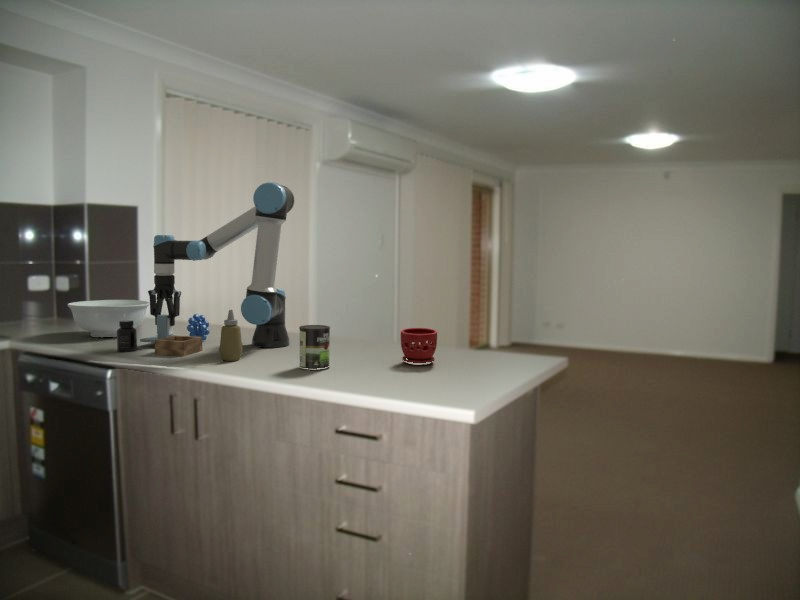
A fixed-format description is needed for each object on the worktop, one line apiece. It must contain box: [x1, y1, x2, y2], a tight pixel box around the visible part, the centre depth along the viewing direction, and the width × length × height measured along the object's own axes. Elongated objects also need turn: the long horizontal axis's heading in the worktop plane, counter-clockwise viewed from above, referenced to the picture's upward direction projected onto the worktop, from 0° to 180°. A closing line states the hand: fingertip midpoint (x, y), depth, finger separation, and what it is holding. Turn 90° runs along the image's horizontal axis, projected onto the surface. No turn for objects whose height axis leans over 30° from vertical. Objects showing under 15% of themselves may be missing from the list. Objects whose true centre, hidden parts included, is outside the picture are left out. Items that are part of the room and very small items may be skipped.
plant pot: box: [400, 327, 438, 363], centre depth 220 cm, size 13×13×12 cm
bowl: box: [67, 299, 150, 339], centre depth 270 cm, size 32×32×15 cm
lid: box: [139, 313, 174, 344], centre depth 243 cm, size 13×13×10 cm
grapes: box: [186, 313, 211, 342], centre depth 256 cm, size 12×7×12 cm, turn 151°
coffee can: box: [298, 324, 331, 369], centre depth 209 cm, size 10×10×14 cm
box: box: [154, 335, 203, 357], centre depth 229 cm, size 12×12×6 cm
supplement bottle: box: [116, 320, 138, 353], centre depth 230 cm, size 7×7×12 cm
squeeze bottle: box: [219, 309, 243, 362], centre depth 220 cm, size 8×8×18 cm
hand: (165, 333), depth 243 cm, fingers closed on lid, 4 cm apart
